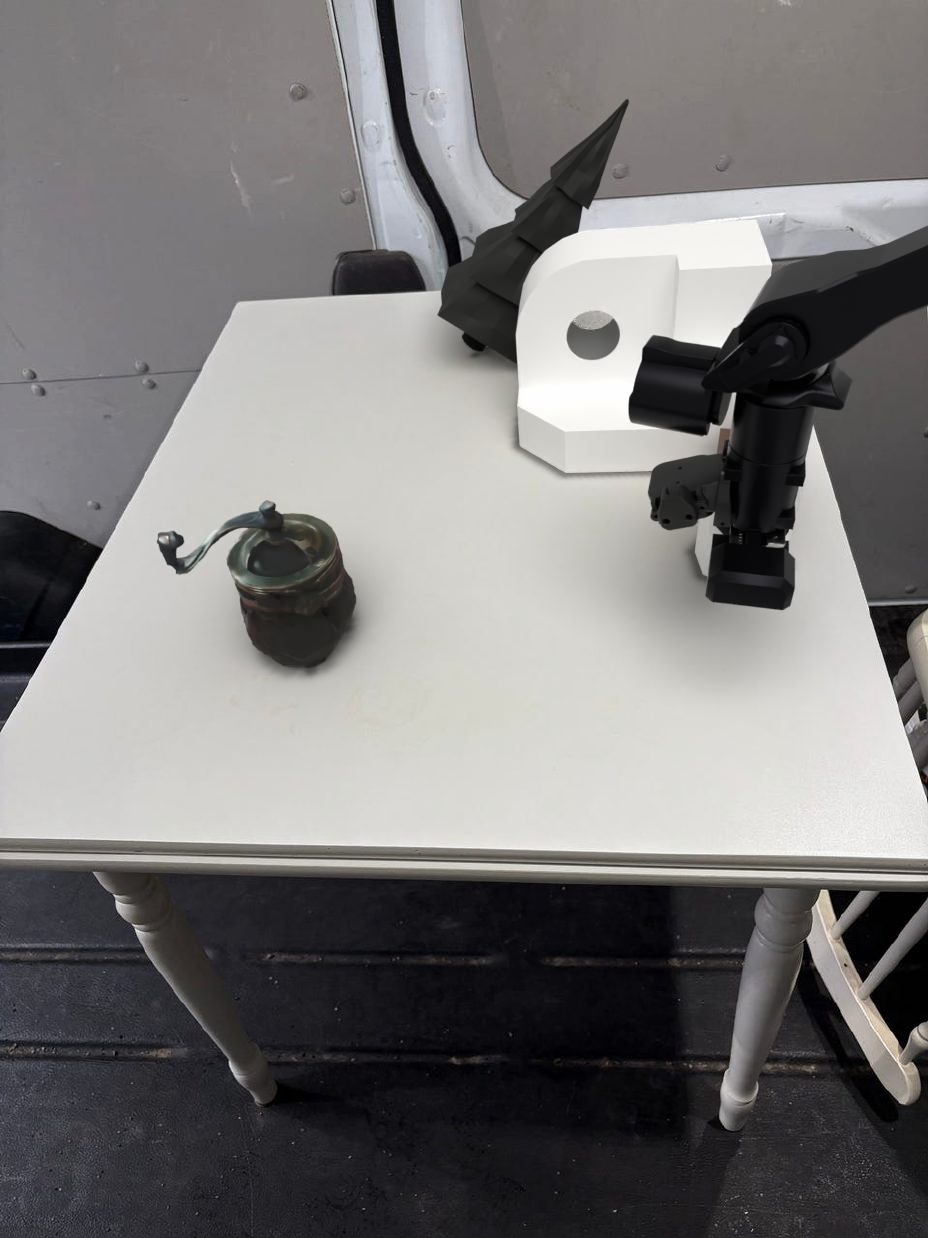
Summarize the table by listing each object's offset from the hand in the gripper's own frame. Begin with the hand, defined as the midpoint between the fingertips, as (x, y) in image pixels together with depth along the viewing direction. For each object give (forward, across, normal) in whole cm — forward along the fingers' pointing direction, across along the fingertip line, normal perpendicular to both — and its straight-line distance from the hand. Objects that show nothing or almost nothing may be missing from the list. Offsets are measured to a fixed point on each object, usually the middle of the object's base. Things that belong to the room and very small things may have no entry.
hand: (739, 592), depth 74 cm
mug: (+4, -7, 0) cm, 9 cm away
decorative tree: (+4, -50, -30) cm, 58 cm away
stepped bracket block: (+4, -31, -14) cm, 34 cm away
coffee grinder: (+5, +10, -40) cm, 42 cm away
